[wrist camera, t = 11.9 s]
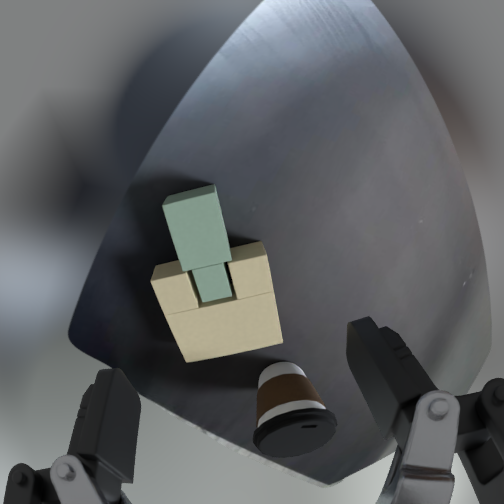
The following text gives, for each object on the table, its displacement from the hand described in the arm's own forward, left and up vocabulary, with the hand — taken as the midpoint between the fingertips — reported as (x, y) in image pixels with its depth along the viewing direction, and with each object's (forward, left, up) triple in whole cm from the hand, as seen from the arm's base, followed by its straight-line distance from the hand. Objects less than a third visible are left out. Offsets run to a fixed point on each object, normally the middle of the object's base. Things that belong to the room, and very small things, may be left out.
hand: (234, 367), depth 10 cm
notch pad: (+12, -3, -23) cm, 26 cm away
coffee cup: (+28, +2, -23) cm, 36 cm away
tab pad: (+4, -3, -23) cm, 23 cm away
